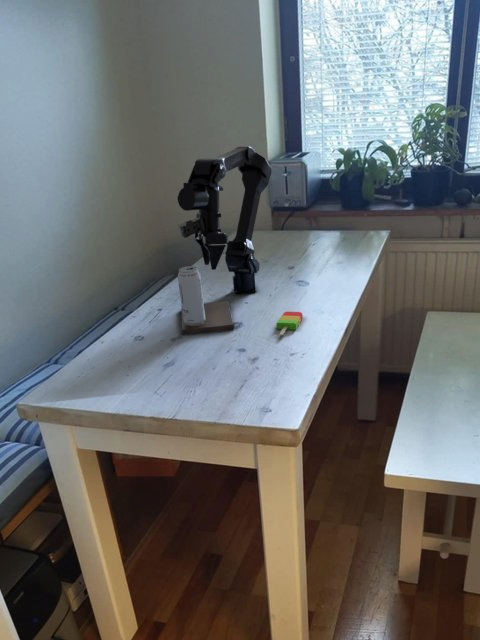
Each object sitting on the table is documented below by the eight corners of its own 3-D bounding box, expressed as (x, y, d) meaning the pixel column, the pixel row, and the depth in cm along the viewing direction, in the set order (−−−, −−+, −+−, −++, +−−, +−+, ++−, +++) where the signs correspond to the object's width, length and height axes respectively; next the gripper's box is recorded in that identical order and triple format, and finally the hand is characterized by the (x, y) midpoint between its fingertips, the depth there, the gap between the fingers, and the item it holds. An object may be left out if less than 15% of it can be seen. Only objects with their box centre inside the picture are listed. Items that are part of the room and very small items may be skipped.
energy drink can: (182, 321, 169) (174, 267, 161) (203, 317, 170) (196, 264, 162) (186, 328, 164) (178, 273, 156) (207, 324, 165) (201, 270, 157)
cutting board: (228, 305, 182) (227, 300, 181) (233, 329, 165) (233, 324, 164) (181, 310, 181) (181, 305, 180) (182, 335, 164) (182, 329, 164)
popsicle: (303, 317, 169) (303, 311, 168) (291, 338, 157) (290, 331, 156) (284, 317, 171) (284, 310, 170) (270, 337, 159) (270, 331, 158)
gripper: (174, 206, 173) (176, 263, 180) (186, 211, 157) (188, 273, 164) (212, 206, 176) (213, 262, 183) (227, 211, 160) (228, 272, 167)
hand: (210, 267), depth 174 cm, fingers open, 9 cm apart
